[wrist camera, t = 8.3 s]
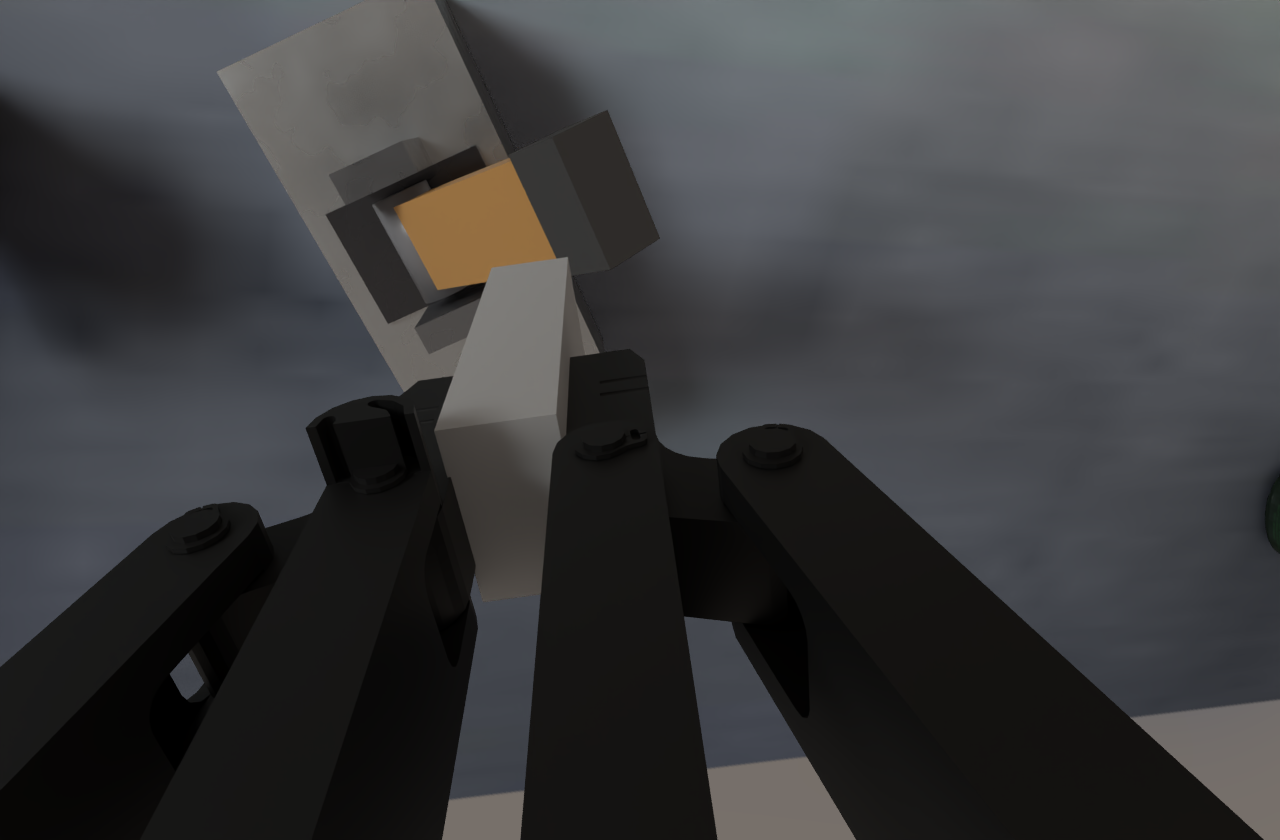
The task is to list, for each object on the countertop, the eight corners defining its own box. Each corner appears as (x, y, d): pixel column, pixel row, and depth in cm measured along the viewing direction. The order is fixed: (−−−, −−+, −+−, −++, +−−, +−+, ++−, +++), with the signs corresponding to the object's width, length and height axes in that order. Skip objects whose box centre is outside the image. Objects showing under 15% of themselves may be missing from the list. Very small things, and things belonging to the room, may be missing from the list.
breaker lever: (416, 304, 34) (610, 277, 23) (363, 208, 33) (545, 131, 22) (460, 280, 35) (664, 242, 25) (411, 185, 34) (606, 102, 23)
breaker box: (453, 406, 44) (425, 487, 34) (267, 76, 37) (170, 67, 28) (602, 340, 43) (615, 404, 34) (442, -7, 36) (403, -45, 27)
